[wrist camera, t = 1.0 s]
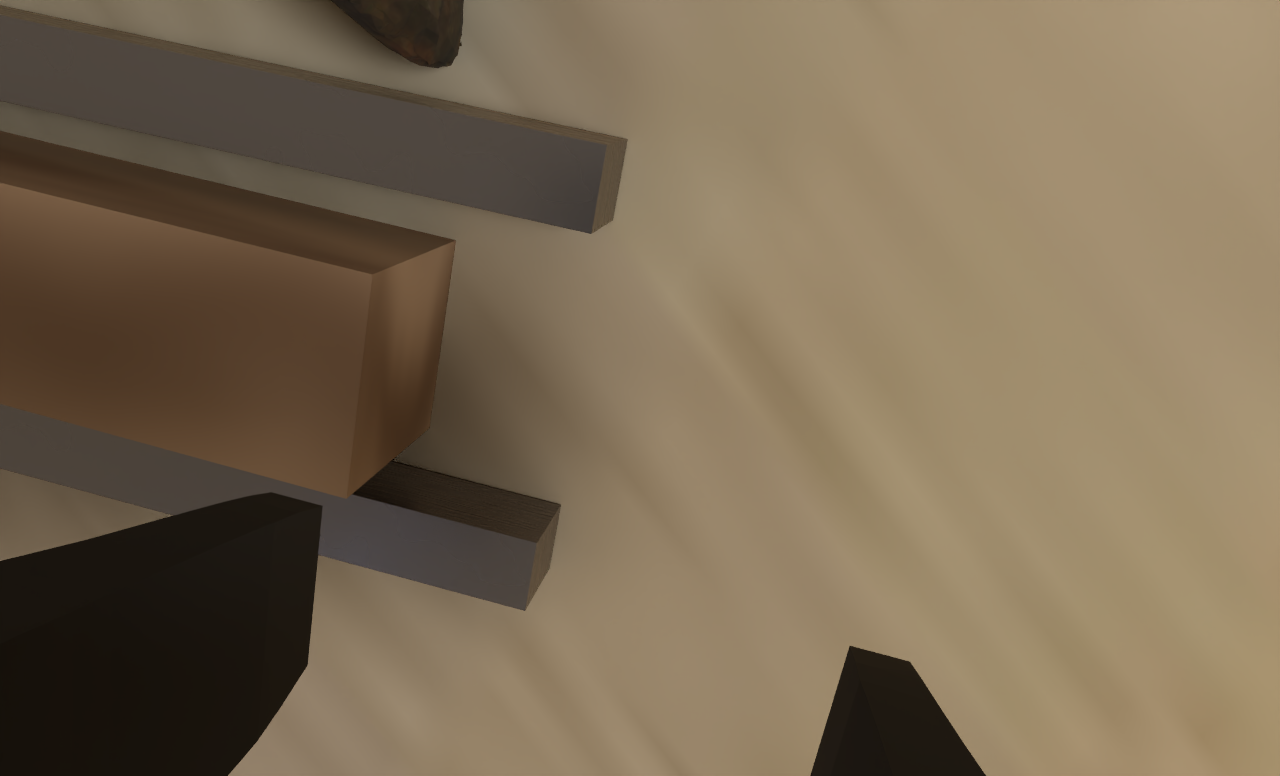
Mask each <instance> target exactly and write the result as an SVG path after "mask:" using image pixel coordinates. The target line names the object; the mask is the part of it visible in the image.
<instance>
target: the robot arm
mask: <svg viewBox="0 0 1280 776" xmlns="http://www.w3.org/2000/svg"><path fill="white" fill-rule="evenodd" d="M322 508H323V506H321V505H318V504H314V503H310V502H306V501H303V500H299V499H295V498H291V497H288V496H284V495H280V494H276V493H273V492H269V493H263V494H256V495H251V496H246V497H242V498H238V499H233V500H229V501H225V502H221V503H218V504H214V505H210V506H206V507H203V508H199V509H195V510H192V511H188V512H185V513H181V514H177V515H174V516H170V517H167V518H163V519H160V520H156V521H153V522H149V523H145V524H142V525H138V526H135V527H131V528H127V529H124V530H120V531H117V532H113V533H110V534H106V535H102V536H99V537H95V538H92V539H88V540H84V541H80V542H76V543H72V544H68V545H64V546H60V547H56V548H52V549H48V550H44V551H39V552H35V553H31V554H27V555H23V556H19V557H15V558H11V559H7V560H3V561H0V776H228V775H229V774H230V772H231V771H232V770H233V769H234V768H235V767H236V765H237V764H238V763H239V762H240V761H241V760H242V758H243V757H244V756H245V755H246V754H247V753H248V751H249V750H250V749H251V748H252V747H253V745H254V744H255V743H256V742H257V741H258V739H259V738H260V736H261V735H262V733H263V732H264V730H265V729H266V728H267V726H268V725H269V723H270V722H271V720H272V719H273V717H274V716H275V714H276V713H277V712H278V710H279V709H280V707H281V706H282V704H283V703H284V701H285V699H286V698H287V696H288V695H289V693H290V692H291V690H292V689H293V687H294V685H295V684H296V682H297V681H298V679H299V678H300V676H301V674H302V673H303V671H304V670H305V668H306V667H307V665H308V655H309V644H310V634H311V623H312V613H313V602H314V592H315V581H316V571H317V560H318V550H319V540H320V529H321V519H322ZM811 776H986V775H985V774H984V772H983V771H982V769H981V768H980V767H979V765H978V764H977V762H976V761H975V759H974V758H973V756H972V755H971V753H970V752H969V750H968V749H967V747H966V746H965V745H964V743H963V742H962V740H961V739H960V737H959V736H958V734H957V732H956V731H955V729H954V728H953V726H952V725H951V723H950V722H949V720H948V719H947V717H946V716H945V714H944V713H943V711H942V710H941V708H940V707H939V705H938V704H937V702H936V700H935V699H934V697H933V696H932V694H931V693H930V691H929V690H928V688H927V687H926V685H925V684H924V682H923V680H922V679H921V677H920V676H919V674H918V673H917V671H916V670H915V669H914V667H913V666H912V664H911V663H910V662H909V661H905V660H901V659H898V658H894V657H890V656H886V655H883V654H879V653H875V652H871V651H868V650H864V649H860V648H856V647H853V646H850V647H849V650H848V653H847V657H846V660H845V663H844V667H843V670H842V673H841V677H840V680H839V683H838V686H837V690H836V693H835V696H834V700H833V703H832V706H831V710H830V713H829V716H828V719H827V723H826V726H825V729H824V733H823V736H822V739H821V743H820V746H819V749H818V752H817V756H816V759H815V762H814V766H813V769H812V772H811Z"/></svg>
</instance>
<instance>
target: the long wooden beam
mask: <svg viewBox="0 0 1280 776" xmlns="http://www.w3.org/2000/svg"><path fill="white" fill-rule="evenodd" d="M455 243H456V240H452V239H448V238H444V237H440V236H435V235H431V234H427V233H423V232H419V231H415V230H410V229H406V228H402V227H398V226H394V225H390V224H385V223H381V222H377V221H373V220H369V219H365V218H360V217H356V216H352V215H348V214H344V213H340V212H335V211H331V210H327V209H323V208H319V207H315V206H311V205H306V204H302V203H298V202H294V201H290V200H286V199H281V198H277V197H273V196H269V195H265V194H261V193H256V192H252V191H248V190H244V189H240V188H236V187H231V186H227V185H223V184H219V183H215V182H211V181H206V180H202V179H198V178H194V177H190V176H186V175H181V174H177V173H173V172H169V171H165V170H161V169H156V168H152V167H148V166H144V165H140V164H136V163H131V162H127V161H123V160H119V159H115V158H111V157H106V156H102V155H98V154H94V153H90V152H86V151H81V150H77V149H73V148H69V147H65V146H61V145H56V144H52V143H48V142H44V141H40V140H36V139H31V138H27V137H23V136H19V135H15V134H11V133H6V132H2V131H0V404H2V405H6V406H10V407H13V408H17V409H20V410H24V411H28V412H31V413H35V414H39V415H42V416H46V417H50V418H53V419H57V420H61V421H64V422H68V423H72V424H75V425H79V426H83V427H86V428H90V429H93V430H97V431H101V432H104V433H108V434H112V435H115V436H119V437H123V438H126V439H130V440H134V441H137V442H141V443H145V444H148V445H152V446H156V447H159V448H163V449H166V450H170V451H174V452H177V453H181V454H185V455H188V456H192V457H196V458H199V459H203V460H207V461H210V462H214V463H218V464H221V465H225V466H229V467H232V468H236V469H239V470H243V471H247V472H250V473H254V474H258V475H261V476H265V477H269V478H272V479H276V480H280V481H283V482H287V483H291V484H294V485H298V486H302V487H305V488H309V489H312V490H316V491H320V492H323V493H327V494H331V495H334V496H338V497H342V498H345V499H347V498H348V497H349V496H350V495H352V494H353V493H354V492H355V491H356V490H357V489H359V488H360V487H361V486H362V485H363V484H364V483H366V482H367V481H368V480H369V479H370V478H371V477H373V476H374V475H375V474H376V473H377V472H378V471H380V470H381V469H382V468H383V467H384V466H385V465H387V464H388V463H389V462H390V461H391V460H393V459H394V458H395V457H396V456H397V455H398V454H400V453H401V452H402V451H403V450H404V449H405V448H407V447H408V446H409V445H410V444H411V443H412V442H414V441H415V440H416V439H417V438H418V437H419V436H421V435H422V434H423V433H424V432H425V431H426V430H428V429H429V428H430V420H431V413H432V406H433V399H434V392H435V385H436V378H437V371H438V364H439V357H440V349H441V342H442V335H443V328H444V321H445V314H446V307H447V300H448V293H449V286H450V279H451V271H452V264H453V257H454V250H455Z"/></svg>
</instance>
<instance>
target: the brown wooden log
mask: <svg viewBox="0 0 1280 776" xmlns="http://www.w3.org/2000/svg"><path fill="white" fill-rule="evenodd" d="M331 1H332V2H333V3H335V4H336V5H337V6H338V7H339V8H341V9H342V10H343V11H344V12H345V13H347V14H348V15H349V16H350V17H351V18H353V19H354V20H355V21H356V22H357V23H359V24H360V25H361V26H362V27H363V28H364V29H366V30H367V31H368V32H369V33H370V34H371V35H373V36H374V37H375V38H376V39H378V40H379V41H380V42H381V43H383V44H384V45H385V46H386V47H388V48H389V49H391V50H393V51H394V52H396V53H398V54H400V55H402V56H403V57H405V58H406V59H408V60H409V61H411V62H413V63H416V64H418V65H421V66H427V67H434V68H439V67H442V66H450V65H452V63H453V61H454V59H455V57H456V56H457V55H458V50H459V46H462V45H461V43H460V39H461V35H462V25H463V3H464V0H331Z"/></svg>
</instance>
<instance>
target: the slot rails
mask: <svg viewBox="0 0 1280 776" xmlns="http://www.w3.org/2000/svg"><path fill="white" fill-rule="evenodd" d="M0 101H4V102H9V103H13V104H18V105H22V106H27V107H31V108H35V109H40V110H44V111H49V112H53V113H58V114H62V115H66V116H71V117H75V118H80V119H84V120H89V121H93V122H97V123H102V124H106V125H111V126H115V127H120V128H124V129H129V130H133V131H137V132H142V133H146V134H151V135H155V136H160V137H164V138H168V139H173V140H177V141H182V142H186V143H191V144H195V145H200V146H204V147H208V148H213V149H217V150H222V151H226V152H231V153H235V154H239V155H244V156H248V157H253V158H257V159H262V160H266V161H270V162H275V163H279V164H284V165H288V166H293V167H297V168H302V169H306V170H310V171H315V172H319V173H324V174H328V175H333V176H337V177H341V178H346V179H350V180H355V181H359V182H364V183H368V184H373V185H377V186H381V187H386V188H390V189H395V190H399V191H404V192H408V193H412V194H417V195H421V196H426V197H430V198H435V199H439V200H443V201H448V202H452V203H457V204H461V205H466V206H470V207H475V208H479V209H483V210H488V211H492V212H497V213H501V214H506V215H510V216H514V217H519V218H523V219H528V220H532V221H537V222H541V223H546V224H550V225H554V226H559V227H563V228H568V229H572V230H577V231H581V232H585V233H590V234H592V233H593V232H595V231H597V230H598V229H600V228H601V227H603V226H604V225H606V224H608V223H609V222H611V221H612V220H613V216H614V211H615V206H616V200H617V195H618V189H619V184H620V178H621V173H622V167H623V162H624V156H625V151H626V145H627V140H628V139H623V138H619V137H614V136H609V135H604V134H600V133H595V132H590V131H586V130H581V129H576V128H572V127H567V126H562V125H558V124H553V123H548V122H544V121H539V120H534V119H530V118H525V117H520V116H515V115H511V114H506V113H501V112H497V111H492V110H487V109H483V108H478V107H473V106H469V105H464V104H459V103H455V102H450V101H445V100H441V99H436V98H431V97H426V96H422V95H417V94H412V93H408V92H403V91H398V90H394V89H389V88H384V87H380V86H375V85H370V84H366V83H361V82H356V81H352V80H347V79H342V78H337V77H333V76H328V75H323V74H319V73H314V72H309V71H305V70H300V69H295V68H291V67H286V66H281V65H277V64H272V63H267V62H263V61H258V60H253V59H248V58H244V57H239V56H234V55H230V54H225V53H220V52H216V51H211V50H206V49H202V48H197V47H192V46H188V45H183V44H178V43H174V42H169V41H164V40H159V39H155V38H150V37H145V36H141V35H136V34H131V33H127V32H122V31H117V30H113V29H108V28H103V27H99V26H94V25H89V24H85V23H80V22H75V21H70V20H66V19H61V18H56V17H52V16H47V15H42V14H38V13H33V12H28V11H24V10H19V9H14V8H10V7H5V6H0ZM0 468H1V469H5V470H8V471H12V472H16V473H19V474H23V475H27V476H30V477H34V478H38V479H41V480H45V481H49V482H53V483H56V484H60V485H64V486H67V487H71V488H75V489H78V490H82V491H86V492H89V493H93V494H97V495H100V496H104V497H108V498H111V499H115V500H119V501H122V502H126V503H130V504H134V505H137V506H141V507H145V508H148V509H152V510H156V511H159V512H163V513H167V514H170V515H177V514H181V513H185V512H188V511H192V510H195V509H199V508H203V507H206V506H210V505H214V504H218V503H221V502H225V501H229V500H233V499H238V498H242V497H246V496H251V495H256V494H263V493H269V492H273V493H276V494H280V495H284V496H288V497H291V498H295V499H299V500H303V501H306V502H310V503H314V504H318V505H321V506H323V508H322V519H321V529H320V540H319V550H318V555H321V556H325V557H329V558H332V559H336V560H340V561H343V562H347V563H351V564H354V565H358V566H362V567H366V568H369V569H373V570H377V571H380V572H384V573H388V574H391V575H395V576H399V577H402V578H406V579H410V580H413V581H417V582H421V583H424V584H428V585H432V586H436V587H439V588H443V589H447V590H450V591H454V592H458V593H461V594H465V595H469V596H472V597H476V598H480V599H483V600H487V601H491V602H494V603H498V604H502V605H505V606H509V607H513V608H517V609H520V610H524V611H525V610H526V608H527V606H528V605H529V603H530V601H531V599H532V598H533V596H534V594H535V592H536V591H537V589H538V587H539V585H540V584H541V582H542V580H543V579H544V577H545V575H546V573H547V572H548V570H549V568H550V562H551V557H552V551H553V546H554V540H555V535H556V529H557V524H558V518H559V513H560V507H561V505H558V504H554V503H551V502H547V501H543V500H539V499H535V498H531V497H527V496H523V495H520V494H516V493H512V492H508V491H504V490H500V489H496V488H492V487H489V486H485V485H481V484H477V483H473V482H469V481H465V480H461V479H458V478H454V477H450V476H446V475H442V474H438V473H434V472H430V471H427V470H423V469H419V468H415V467H411V466H407V465H403V464H399V463H396V462H392V461H390V462H389V463H388V464H387V465H385V466H384V467H383V468H382V469H381V470H380V471H378V472H377V473H376V474H375V475H374V476H373V477H371V478H370V479H369V480H368V481H367V482H366V483H364V484H363V485H362V486H361V487H360V488H359V489H357V490H356V491H355V492H354V493H353V494H352V495H350V496H349V497H348V498H347V499H345V498H342V497H338V496H334V495H331V494H327V493H323V492H320V491H316V490H312V489H309V488H305V487H302V486H298V485H294V484H291V483H287V482H283V481H280V480H276V479H272V478H269V477H265V476H261V475H258V474H254V473H250V472H247V471H243V470H239V469H236V468H232V467H229V466H225V465H221V464H218V463H214V462H210V461H207V460H203V459H199V458H196V457H192V456H188V455H185V454H181V453H177V452H174V451H170V450H166V449H163V448H159V447H156V446H152V445H148V444H145V443H141V442H137V441H134V440H130V439H126V438H123V437H119V436H115V435H112V434H108V433H104V432H101V431H97V430H93V429H90V428H86V427H83V426H79V425H75V424H72V423H68V422H64V421H61V420H57V419H53V418H50V417H46V416H42V415H39V414H35V413H31V412H28V411H24V410H20V409H17V408H13V407H10V406H6V405H2V404H0Z"/></svg>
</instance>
